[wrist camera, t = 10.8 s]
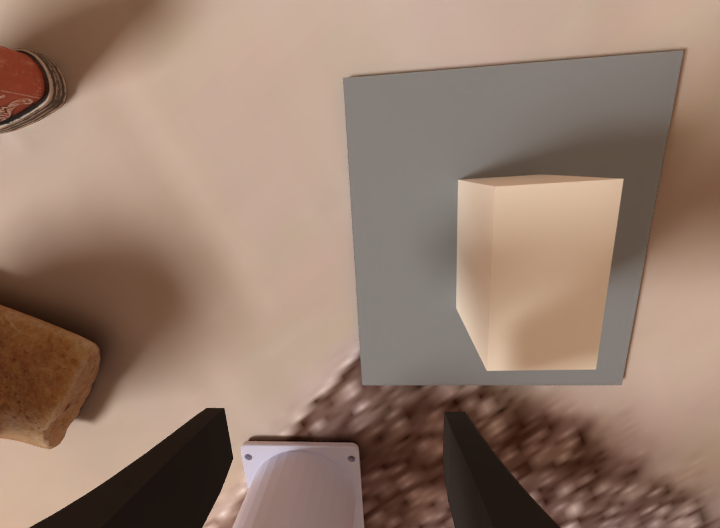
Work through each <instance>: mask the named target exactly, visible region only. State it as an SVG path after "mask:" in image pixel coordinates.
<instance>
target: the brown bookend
mask: <svg viewBox="0 0 720 528" xmlns="http://www.w3.org/2000/svg"><path fill="white" fill-rule="evenodd" d="M100 361H101V358H100V349H99V347H98V346H97V345H96V344H95V343H93V342H92V341H90V340H88V339H86V338H84V337H82V336H79V335H77V334H75V333H73V332H70V331H68V330H66V329H63V328H61V327H58V326H55V325H53V324H50V323H48V322H45V321H43V320H40V319H38V318H35V317H33V316H30V315H27V314H25V313H22V312H19V311H16V310H14V309H11V308H8V307H5V306H2V305H0V438H4V439H11V440H16V441H21V442H24V443H28V444H31V445H35V446H38V447H42V448H46V449H52V448H54V447H56V446H57V445H58V444H60V443H61V441H62V440H63V438H64V436H65V434H66V430H67V428H68V427H69V425H70V424H71V423H72V421H73V420H74V419H75V418H76V417H77V416H78V415H79V409H80V408H81V406H82V405H83V404H84V402H85V400H86V397H87V396H88V395H89V394H90V391H91V389H92V382H94V381H95V379H96V376H97V374H98V372H99V363H100Z"/></svg>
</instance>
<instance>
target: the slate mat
mask: <svg viewBox="0 0 720 528" xmlns="http://www.w3.org/2000/svg"><path fill="white" fill-rule="evenodd" d="M683 52H684V50H679V51H667V52H655V53H642V54H630V55H618V56H606V57H594V58H581V59H569V60H557V61H545V62H532V63H520V64H508V65H496V66H484V67H471V68H459V69H447V70H435V71H422V72H410V73H398V74H386V75H374V76H361V77H349V78H343V83H344V99H345V115H346V131H347V147H348V163H349V179H350V195H351V212H352V228H353V244H354V260H355V276H356V292H357V308H358V324H359V340H360V356H361V372H362V385H622V381H623V376H624V370H625V365H626V359H627V354H628V349H629V343H630V338H631V332H632V327H633V322H634V316H635V311H636V305H637V300H638V295H639V289H640V284H641V278H642V273H643V268H644V262H645V257H646V251H647V246H648V241H649V235H650V230H651V224H652V219H653V214H654V208H655V203H656V197H657V192H658V187H659V181H660V176H661V170H662V165H663V160H664V154H665V149H666V143H667V138H668V133H669V127H670V122H671V116H672V111H673V106H674V100H675V95H676V90H677V84H678V79H679V73H680V68H681V63H682V57H683ZM539 174H543V175H562V176H581V177H600V178H619V179H624V180H623V187H622V194H621V201H620V207H619V214H618V221H617V228H616V235H615V242H614V249H613V255H612V262H611V269H610V276H609V283H608V290H607V297H606V303H605V310H604V317H603V324H602V331H601V338H600V345H599V352H598V358H597V365H596V369H595V370H517V371H487V370H486V368H485V366H484V364H483V362H482V360H481V358H480V356H479V354H478V352H477V350H476V348H475V346H474V344H473V342H472V340H471V338H470V336H469V333H468V331H467V329H466V327H465V325H464V323H463V321H462V319H461V317H460V315H459V313H458V311H457V309H456V283H457V211H458V180H461V179H477V178H492V177H508V176H524V175H539Z"/></svg>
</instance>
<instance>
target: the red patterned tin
mask: <svg viewBox="0 0 720 528" xmlns="http://www.w3.org/2000/svg"><path fill="white" fill-rule="evenodd" d="M65 99H66V84H65V80H64V77H63V75H62V73H61V71H60V70H59V68H58V67H57V66H56V64H55V63H54V62H53V61H52V60H50V59H49V58H47V57H45V56H44V55H41V54H38V53H34V52H31V51H28V50H24V49H8V48H5V47H1V46H0V134H2V133H7V132H12V131H16V130H18V129H20V128H23V127H25V126H28V125H30V124H32V123H35V122H37V121H39V120H41V119H42V118H44V117H46V116H47V115H49V114H51V113H52V112H54V111H55V110H57V109H59V108H60V107H61V106H62V105H63V104H64V102H65Z"/></svg>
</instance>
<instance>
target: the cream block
mask: <svg viewBox="0 0 720 528" xmlns="http://www.w3.org/2000/svg"><path fill="white" fill-rule="evenodd" d="M623 180H624V179H619V178H600V177H581V176H562V175H543V174H539V175H524V176H508V177H492V178H477V179H461V180H458V211H457V283H456V309H457V311H458V313H459V315H460V317H461V319H462V321H463V323H464V325H465V327H466V329H467V331H468V333H469V336H470V338H471V340H472V342H473V344H474V346H475V348H476V350H477V352H478V354H479V356H480V358H481V360H482V362H483V364H484V366H485V368H486V370H487V371H517V370H595V369H596V365H597V358H598V352H599V345H600V338H601V331H602V324H603V317H604V310H605V303H606V297H607V290H608V283H609V276H610V269H611V262H612V255H613V249H614V242H615V235H616V228H617V221H618V214H619V207H620V201H621V194H622V187H623Z"/></svg>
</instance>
